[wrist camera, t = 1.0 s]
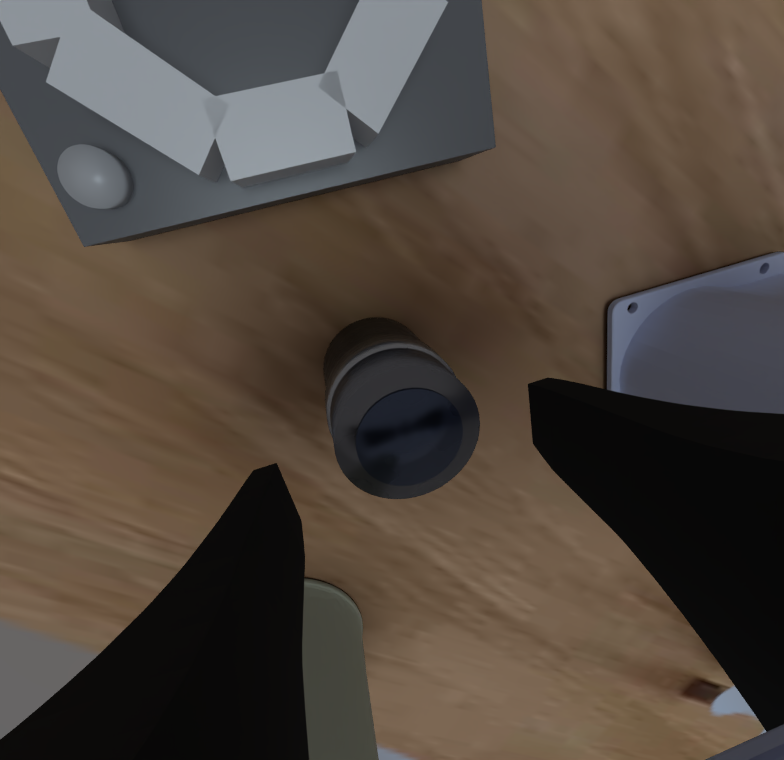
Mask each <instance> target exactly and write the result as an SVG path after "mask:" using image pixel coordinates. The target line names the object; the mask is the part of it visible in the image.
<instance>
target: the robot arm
mask: <svg viewBox="0 0 784 760" xmlns="http://www.w3.org/2000/svg"><path fill="white" fill-rule="evenodd" d="M630 304H631V308H630V309H629V310H627V309H628V306H629V305H630ZM528 391H529V403H530V414H531V426H532V438H533V444H534V446H535V447H536V448H537V450H538V451H539V452H540V454H541V455H542V457H543V458H544V459H545V460H546V462H547V463H548V464H549V466H550V467H551V468H552V469H553V471H554V472H555V473H556V474H557V475H558V476H559V477H560V478H561V479H562V480H563V481H564V482H565V483H566V484H567V485H568V486H569V487H570V488H571V489H572V490H573V491H574V492H575V493H576V494H577V495H578V496H579V497H580V498H581V499H582V500H583V501H584V502H585V503H586V504H587V505H588V506H589V507H590V508H591V509H592V510H593V511H594V512H595V513H596V514H597V515H598V516H599V517H600V518H601V519H602V520H603V521H604V522H605V523H606V524H607V525H608V526H609V527H610V528H611V529H612V530H613V531H614V532H615V533H616V534H617V535H618V536H619V537H620V538H621V539H622V540H623V541H624V542H625V544H626V545H627V546H628V547H629V548H630V549H631V551H632V552H633V553H634V554H635V555H636V557H637V558H638V559H639V560H640V561H641V563H642V564H643V565H644V566H645V568H646V569H647V570H648V571H649V572H650V574H651V575H652V576H653V577H654V578H655V580H656V581H657V582H658V583H659V585H660V586H661V587H662V589H663V590H664V591H665V592H666V594H667V595H668V596H669V597H670V599H671V600H672V601H673V603H674V604H675V605H676V606H677V608H678V609H679V610H680V611H681V613H682V614H683V615H684V617H685V618H686V619H687V621H688V622H689V623H690V625H691V626H692V627H693V629H694V630H695V631H696V633H697V634H698V635H699V637H700V638H701V639H702V641H703V642H704V643H705V645H706V646H707V648H708V649H709V650H710V652H711V653H712V654H713V656H714V657H715V658H716V660H717V661H718V662H719V664H720V665H721V667H722V668H723V669H724V671H725V672H726V674H727V675H728V677H729V678H730V679H731V681H732V682H733V684H734V685H735V687H736V688H737V689H738V691H739V692H740V694H741V695H742V697H743V698H744V699H745V701H746V702H747V704H748V705H749V706H750V708H751V709H752V711H753V712H754V714H755V715H756V716H757V718H758V719H759V721H760V722H761V724H762V725H763V727H764V728H765V730H766V731H767V732H766V733H763V734H761V735H759V736H757V737H754V738H752V739H750V740H748V741H746V742H743V743H741V744H739V745H737V746H735V747H732V748H730V749H728V750H726V751H723V752H721V753H719V754H717V755H715V756H712V757H710V758H708V759H706V760H784V252H774V253H771V254H767V255H764V256H761V257H757V258H754V259H751V260H747V261H744V262H740V263H737V264H734V265H730V266H727V267H723V268H720V269H717V270H713V271H710V272H706V273H703V274H700V275H696V276H693V277H690V278H686V279H683V280H679V281H676V282H673V283H669V284H666V285H662V286H659V287H656V288H652V289H649V290H645V291H642V292H639V293H635V294H632V295H628V296H625V297H622V298H618V299H616V300H614V301H613V302H612V303H611V304H610V306H609V308H608V319H607V390H606V389H602V388H597V387H593V386H589V385H584V384H580V383H575V382H570V381H566V380H560V379H554V378H545V379H542V380H539V381H536V382H533V383H529V384H528ZM304 572H305V552H304V541H303V531H302V522H301V519H300V516H299V514H298V512H297V509H296V507H295V505H294V502H293V500H292V498H291V495H290V493H289V491H288V488H287V486H286V484H285V481H284V479H283V477H282V475H281V472H280V470H279V468H278V465H277V463H275V464H272V465H269V466H266V467H262V468H259V469H256V470H254V471H253V472H252V473H251V474H250V476H249V477H248V479H247V480H246V481H245V483H244V484H243V486H242V487H241V489H240V490H239V492H238V493H237V495H236V496H235V498H234V499H233V501H232V502H231V503H230V505H229V506H228V508H227V509H226V511H225V512H224V513H223V515H222V516H221V518H220V519H219V521H218V522H217V523H216V525H215V526H214V528H213V529H212V530H211V531H210V533H209V534H208V535H207V537H206V538H205V539H204V541H203V542H202V543H201V544H200V546H199V547H198V548H197V550H196V551H195V552H194V553H193V555H192V556H191V557H190V559H189V560H188V561H187V562H186V564H185V565H184V566H183V567H182V568H181V570H180V571H179V572H178V573H177V574H176V576H175V577H174V578H173V579H172V580H171V581H170V582H169V584H168V585H167V586H166V587H165V588H164V589H163V590H162V591H161V592H160V593H159V595H158V596H157V597H156V598H155V599H154V600H153V601H152V602H151V603H150V604H149V605H148V607H147V608H146V609H145V610H144V611H143V612H142V613H141V614H140V615H139V616H138V617H137V618H136V619H135V620H134V621H133V622H132V623H131V624H130V625H129V626H128V627H127V628H126V629H125V630H123V631H122V632H121V633H120V634H119V635H118V636H117V637H116V638H115V639H114V640H113V641H112V642H111V643H110V644H109V645H108V646H107V647H106V648H105V649H104V650H103V651H102V652H101V653H100V654H99V655H98V656H97V657H96V658H95V659H94V660H93V661H91V662H90V663H89V664H88V665H87V666H86V667H85V668H84V669H83V670H82V671H80V672H79V673H78V674H77V675H76V676H75V677H74V678H73V679H72V680H71V681H69V682H68V683H67V684H66V685H65V686H64V687H63V688H61V689H60V690H59V691H58V692H57V693H56V694H54V695H53V696H52V697H51V698H50V699H49V700H47V701H46V702H45V703H44V704H43V705H42V706H41V707H39V708H38V709H37V710H36V711H35V712H33V713H32V714H31V715H30V716H29V717H28V718H26V719H25V720H24V721H23V722H22V723H20V724H19V725H18V726H17V727H16V728H14V729H13V730H12V731H11V732H9V733H8V734H7V735H6V736H4V737H3V738H2V739H0V760H309V751H308V738H307V725H306V713H305V697H304V681H303V665H302V636H303V606H304Z"/></svg>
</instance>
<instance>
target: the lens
mask: <svg viewBox="0 0 784 760" xmlns="http://www.w3.org/2000/svg"><path fill="white" fill-rule="evenodd" d="M323 370H324V379H325V386H326V390H325V406H326V414H327V421H328V426H329V430H330V433H331V435H332V437H333V442H334V448H335V454H336V458H337V461H338V463H339V466H340V468H341V470H342V471H343V473H344V474H345V476H346V477H347V478H348V479H349V480H350V481H351V482H352V483H353V484H354V485H355V486H357V487H358V488H360V489H361V490H363V491H365V492H367V493H369V494H371V495H375V496H378V497H382V498H388V499H406V498H412V497H417V496H420V495H424V494H426V493H429V492H431V491H434V490H435V489H437V488H439V487H441V486H443V485H444V484H446V483H447V482H448V481H450V480H451V479H452V478H453V477H455V476H456V475H457V474H458V473H459V472H460V471H461V470H462V468H463V467H464V466H465V465H466V463H467V462H468V460H469V459H470V457H471V455H472V453H473V451H474V449H475V446H476V443H477V441H478V436H479V428H480V420H479V413H478V408H477V405H476V403H475V400H474V398H473V397H472V395H471V393H470V392H469V391H468V390H467V388H466V387H465V386H464V385H463V384H462V383H461V382H460V381H459V380H458V379H457V378H456V376H455V374H454V373H453V371H452V369H451V368H450V367H449V366H448V364H447V363H446V362H445V361H444V360H443V359H442V358H441V357H440V356H439V355H438V354H437V353H436V352H435V351H434V350H433V349H431V348H430V347H429V346H428V345H426V344H425V343H423V342H421V341H420V340H419V339H418V338H417V337H416V336H415V335H414V334H413V333H412V332H411V331H410V330H409V329H408V328H407V327H405V326H404V325H402V324H401V323H399V322H397V321H394V320H391V319H387V318H378V317H375V318H366V319H362V320H359V321H356V322H354V323H352V324H350V325H348V326H347V327H345V328H344V329H343V330H342V331H340V332H339V333H338V334H337V335H336V337H335V338H334V339H333V340H332V342H331V343H330V345H329V347H328V349H327V352H326V355H325V359H324V368H323Z"/></svg>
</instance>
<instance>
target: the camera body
mask: <svg viewBox="0 0 784 760" xmlns="http://www.w3.org/2000/svg"><path fill="white" fill-rule="evenodd" d="M0 90H1V92H2V93H3V95H4V97H5V99H6V101H7V103H8V105H9V107H10V108H11V110H12V112H13V114H14V116H15V118H16V120H17V122H18V124H19V125H20V127H21V129H22V131H23V133H24V135H25V137H26V139H27V140H28V142H29V144H30V146H31V148H32V150H33V152H34V154H35V155H36V157H37V159H38V161H39V163H40V165H41V167H42V169H43V170H44V172H45V174H46V176H47V178H48V180H49V182H50V184H51V186H52V187H53V189H54V191H55V193H56V195H57V197H58V199H59V201H60V202H61V204H62V206H63V208H64V210H65V212H66V214H67V216H68V217H69V219H70V221H71V223H72V225H73V227H74V229H75V231H76V232H77V234H78V236H79V238H80V240H81V242H82V244H83V246H84V247H86V246H94V245H102V244H110V243H118V242H126V241H131V240H135V239H139V238H144V237H148V236H152V235H156V234H160V233H164V232H168V231H172V230H176V229H181V228H185V227H189V226H193V225H197V224H201V223H205V222H209V221H214V220H218V219H222V218H226V217H230V216H234V215H238V214H242V213H246V212H251V211H255V210H259V209H263V208H267V207H271V206H275V205H279V204H283V203H288V202H292V201H296V200H300V199H304V198H308V197H312V196H316V195H320V194H325V193H329V192H333V191H337V190H341V189H345V188H349V187H353V186H357V185H362V184H366V183H370V182H374V181H378V180H382V179H386V178H390V177H394V176H399V175H403V174H407V173H411V172H415V171H419V170H423V169H427V168H431V167H436V166H440V165H444V164H448V163H452V162H456V161H460V160H463V159H465V158H468V157H471V156H473V155H476V154H479V153H482V152H484V151H487V150H490V149H492V148H495V147H496V145H495V135H494V125H493V115H492V104H491V94H490V84H489V73H488V63H487V53H486V43H485V32H484V22H483V12H482V2H481V0H0Z"/></svg>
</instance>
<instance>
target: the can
mask: <svg viewBox="0 0 784 760" xmlns="http://www.w3.org/2000/svg"><path fill="white" fill-rule="evenodd" d="M362 634H363V623H362V618H361V614H360V612H359V609H358V608H357V606H356V604H355V603H354V602H353V600H352V599H351V598H350V597H349V596H348V595H347V594H346V593H344V592H343V591H341V590H340V589H338V588H336V587H334V586H332V585H330V584H327V583H325V582H321V581H318V580H313V579H306V578H304V606H303V636H302V665H303V681H304V697H305V713H306V725H307V738H308V751H309V760H379V759H378V752H377V745H376V738H375V731H374V724H373V717H372V710H371V703H370V696H369V689H368V682H367V674H366V666H365V657H364V649H363V641H362Z"/></svg>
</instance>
